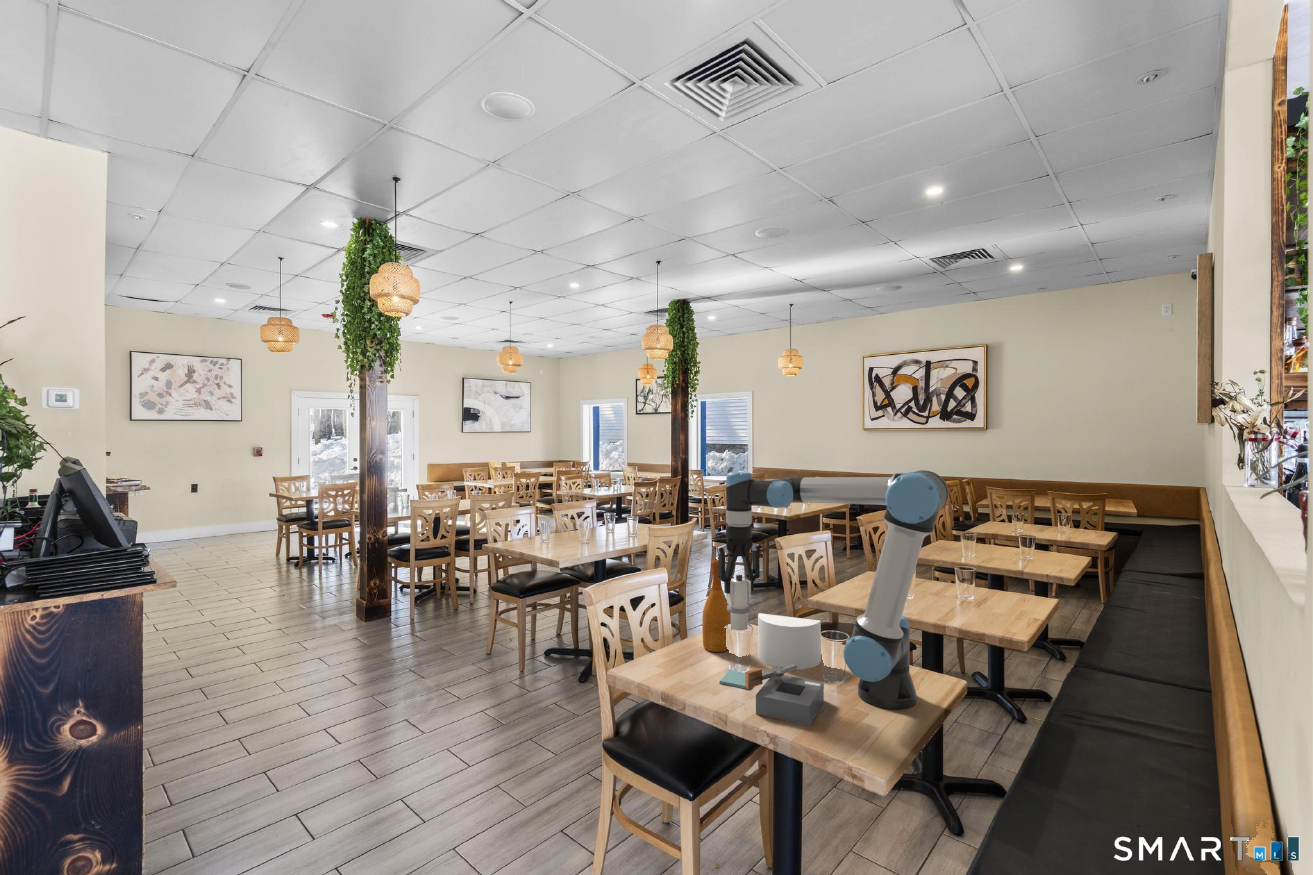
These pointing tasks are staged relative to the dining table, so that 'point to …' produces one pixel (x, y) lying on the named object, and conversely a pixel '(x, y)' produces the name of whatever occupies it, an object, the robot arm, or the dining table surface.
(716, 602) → the wine bottle
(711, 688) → the dining table surface
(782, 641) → the container
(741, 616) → the plug
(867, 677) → the robot arm
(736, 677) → the pad
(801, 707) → the socket block
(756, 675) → the clip lever
